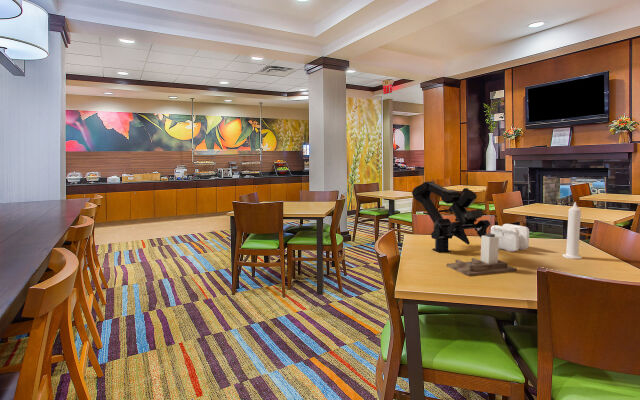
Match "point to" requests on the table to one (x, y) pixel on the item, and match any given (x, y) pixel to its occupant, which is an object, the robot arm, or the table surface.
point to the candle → (573, 233)
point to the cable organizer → (511, 237)
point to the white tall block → (489, 248)
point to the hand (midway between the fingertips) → (477, 243)
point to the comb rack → (480, 267)
